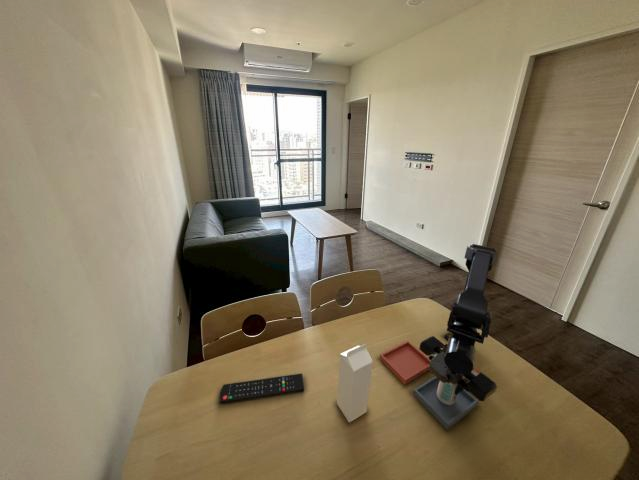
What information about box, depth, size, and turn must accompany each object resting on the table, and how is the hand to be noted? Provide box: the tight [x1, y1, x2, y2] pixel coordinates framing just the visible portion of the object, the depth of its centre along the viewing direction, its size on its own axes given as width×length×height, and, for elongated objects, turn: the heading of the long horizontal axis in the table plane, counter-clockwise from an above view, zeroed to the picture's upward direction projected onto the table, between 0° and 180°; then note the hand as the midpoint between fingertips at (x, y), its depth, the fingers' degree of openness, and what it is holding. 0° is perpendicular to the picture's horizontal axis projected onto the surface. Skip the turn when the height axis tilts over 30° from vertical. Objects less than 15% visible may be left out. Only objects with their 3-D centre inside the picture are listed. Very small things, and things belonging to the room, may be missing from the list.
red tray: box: [379, 340, 431, 386], centre depth 84 cm, size 13×11×2 cm
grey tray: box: [412, 375, 479, 431], centre depth 72 cm, size 13×11×2 cm
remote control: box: [219, 373, 305, 404], centre depth 74 cm, size 5×24×1 cm, turn 100°
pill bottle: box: [437, 375, 463, 405], centre depth 70 cm, size 5×5×12 cm
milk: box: [336, 343, 374, 423], centre depth 66 cm, size 6×6×22 cm
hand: (448, 386), depth 71 cm, fingers closed on pill bottle, 5 cm apart
